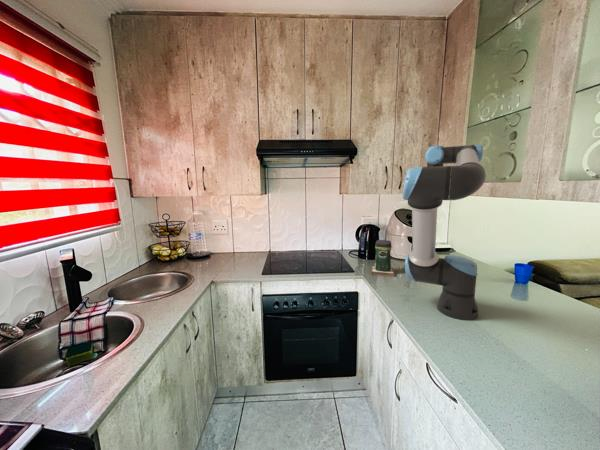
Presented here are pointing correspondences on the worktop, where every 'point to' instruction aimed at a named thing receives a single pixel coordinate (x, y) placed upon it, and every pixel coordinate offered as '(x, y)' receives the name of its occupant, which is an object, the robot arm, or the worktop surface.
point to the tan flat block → (382, 272)
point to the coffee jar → (383, 255)
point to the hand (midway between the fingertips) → (431, 223)
